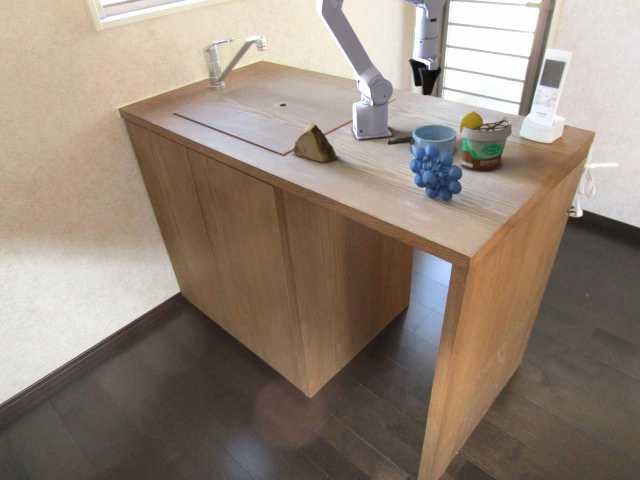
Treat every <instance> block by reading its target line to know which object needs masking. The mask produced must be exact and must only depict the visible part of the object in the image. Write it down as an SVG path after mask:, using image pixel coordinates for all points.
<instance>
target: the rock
mask: <svg viewBox="0 0 640 480" xmlns="http://www.w3.org/2000/svg"><path fill="white" fill-rule="evenodd" d="M293 154H294V155H296V156H299V157H302V158H305V159H309V160H313V161H318V162H320V163H321V162H322V163H325V162H329V161H330V162H331V161H333V160H335V159H338V156H337V152H336V151H335V149H334V147H333V145H332V144H331V142H329V140H328V138H327V137H326V135H325V134H324V132H323V131H322V130H321V129H320V128H319V126H318V125H316V124H315V123H313V122H310V123H309V124H307V125H306V126H305V128H304V129H303V131H302V132H301V134H300V135H299V137H298V138H297V140H295V142H294V147H293Z"/></svg>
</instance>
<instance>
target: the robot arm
mask: <svg viewBox="0 0 640 480" xmlns="http://www.w3.org/2000/svg"><path fill="white" fill-rule="evenodd" d="M344 1H345V0H315V2H316V4H315V5H316V12H317V14H318V16H319V18H320V20H321V21H322V22H323V24H324V26H325V27H326V29H327V30H328V32H329V34H330V36H331V38H332V39H333V40H334V42H335V43H336V45H337V47H338V48H339V50H340V52H341V54H343V57H344V58H345V61H347V63H348V64H349V66H350V68H351V69H352V71H353V73H354V75H353V77H354V78H355V80H356V84H357V89H358V91H359V93H360V94H361V97H360V100H359V101H358V102H353V103H352V130H353V133H354V135H355V137H356V139H357V140H368V139H377V138H387V137H392V132H391V130H390V129H389V127H388V125H389V100H390V99H391V98H392V96H393V93H394V88H393V84H392V82H391V81H390V80H388V79H387V78H385V77H384V75H383V74H382V73H381V72H380V70H379V69H378V68H377V67H376V65H374V63H373V62H372V59H371V58H370V56H369V54H368V53H367V51H366V49H365V48H364V46H363V44H362V42H361V41H360V38H358V35H357V34H356V32H355V31H354V29H353V27H352V25H351V23H350V22H349V20H348V18H347V16H346V14H345V13H344V12H343V9H342V8H343V4H344ZM399 1H401V2H403V3H406V4H409V5H412V6H414V7H415V8H416V14H415V15H416V16H415V34H414V48H413V56H412V58H410V59H409V60H408V63H409V65H410V67H411V72H412V77H413V83H414V87H416V88H417V87H421V90H422V91H421V92H422V95H423V96H431V95H432V93H433V91H434V88H435V84H436V82H437V79H438V77H439V76H440V74H441V73H442V70H443V69H442V67H441V66H438V65H439V62H438V58H441V57H442V54H441V53H440V52H438V42H439V41H438V40H439V30H440V20H441V19H440V18H441V15H442V9H443V7H444V6H445V4H446V1H447V0H399Z"/></svg>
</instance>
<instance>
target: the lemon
mask: <svg viewBox="0 0 640 480" xmlns="http://www.w3.org/2000/svg"><path fill="white" fill-rule="evenodd" d="M482 124H484V120H483V118H482V116H481V115H480V114H479V113H478V112H476V111H471V112H469V113H467V114H465V115H464V116H463V118H462V119H461V122H460V125H459V133H460V134H461V132H462V130H463V127H466V128H468V129H472V128H475V127H478V126H480V125H482Z"/></svg>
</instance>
